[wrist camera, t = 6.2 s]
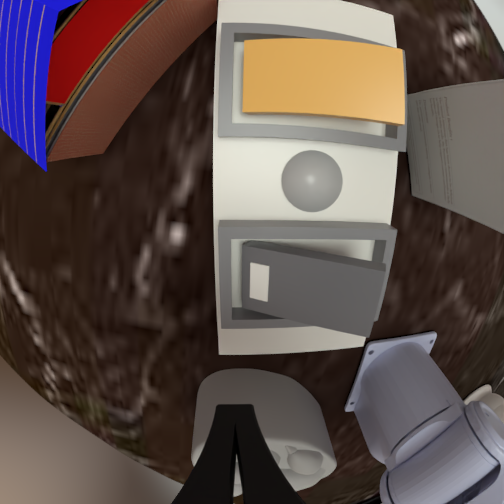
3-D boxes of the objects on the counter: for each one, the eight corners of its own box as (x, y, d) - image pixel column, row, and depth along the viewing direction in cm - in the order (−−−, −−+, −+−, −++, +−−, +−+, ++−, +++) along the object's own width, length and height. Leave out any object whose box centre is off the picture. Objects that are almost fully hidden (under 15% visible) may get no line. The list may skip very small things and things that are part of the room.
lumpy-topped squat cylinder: (251, 447, 27) (256, 510, 19) (169, 394, 23) (155, 472, 15) (331, 413, 26) (353, 479, 18) (262, 345, 21) (275, 437, 13)
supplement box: (474, 185, 18) (594, 234, 6) (408, 196, 18) (553, 267, 6) (464, 97, 15) (593, 102, 3) (394, 93, 15) (552, 73, 3)
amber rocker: (398, 126, 11) (404, 124, 10) (248, 114, 12) (242, 112, 11) (397, 55, 9) (402, 49, 8) (250, 47, 11) (244, 40, 10)
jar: (501, 379, 29) (542, 433, 15) (464, 421, 33) (497, 477, 19) (478, 377, 27) (528, 445, 13) (435, 425, 31) (471, 493, 17)
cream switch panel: (349, 322, 21) (369, 357, 17) (220, 328, 20) (218, 368, 16) (372, 29, 13) (403, 8, 9) (221, 10, 13) (218, -23, 9)
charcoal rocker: (370, 326, 14) (368, 338, 13) (249, 299, 16) (241, 308, 15) (385, 263, 12) (385, 272, 11) (250, 239, 15) (241, 245, 14)
